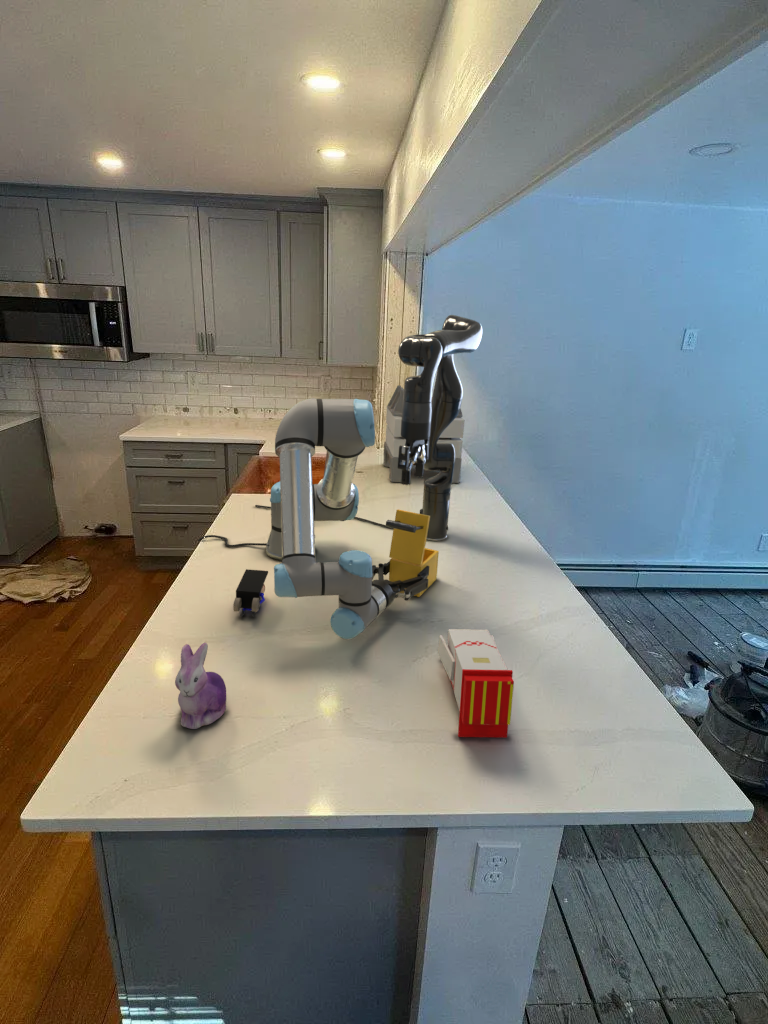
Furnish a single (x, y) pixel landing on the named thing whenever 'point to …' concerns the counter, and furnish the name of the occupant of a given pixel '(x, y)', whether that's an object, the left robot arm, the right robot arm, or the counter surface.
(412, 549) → the yellow handled panel
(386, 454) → the grey storage bin
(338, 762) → the counter surface
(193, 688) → the figurine
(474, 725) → the toy
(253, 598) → the figurine character
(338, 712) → the counter surface
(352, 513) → the left robot arm
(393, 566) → the chest
